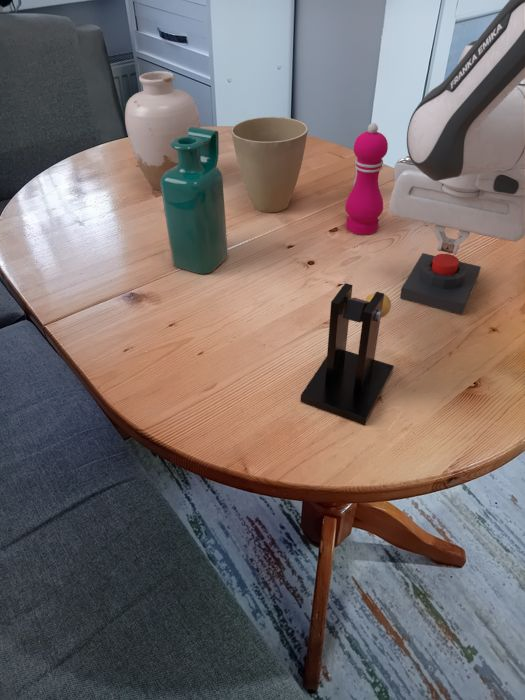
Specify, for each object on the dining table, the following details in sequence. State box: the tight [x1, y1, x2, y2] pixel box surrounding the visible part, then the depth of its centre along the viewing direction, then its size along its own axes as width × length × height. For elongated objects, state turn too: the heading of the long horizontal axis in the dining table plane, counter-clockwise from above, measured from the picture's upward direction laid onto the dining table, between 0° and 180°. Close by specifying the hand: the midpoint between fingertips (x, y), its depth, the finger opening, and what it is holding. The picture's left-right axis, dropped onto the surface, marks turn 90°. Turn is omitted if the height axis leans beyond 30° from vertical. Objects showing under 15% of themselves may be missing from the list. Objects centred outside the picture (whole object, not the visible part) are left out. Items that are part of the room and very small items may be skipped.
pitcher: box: [160, 127, 229, 275], centre depth 92 cm, size 10×8×22 cm
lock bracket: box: [299, 282, 395, 426], centre depth 68 cm, size 11×9×15 cm
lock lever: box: [343, 292, 392, 323], centre depth 69 cm, size 14×4×4 cm, turn 152°
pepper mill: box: [344, 122, 389, 236], centre depth 100 cm, size 7×7×20 cm
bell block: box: [399, 252, 482, 316], centre depth 89 cm, size 12×10×4 cm
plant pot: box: [230, 116, 309, 213], centre depth 110 cm, size 15×15×16 cm
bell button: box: [432, 253, 460, 275], centre depth 87 cm, size 4×4×2 cm
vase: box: [124, 70, 201, 192], centre depth 117 cm, size 16×16×23 cm
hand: (447, 250), depth 85 cm, fingers closed
